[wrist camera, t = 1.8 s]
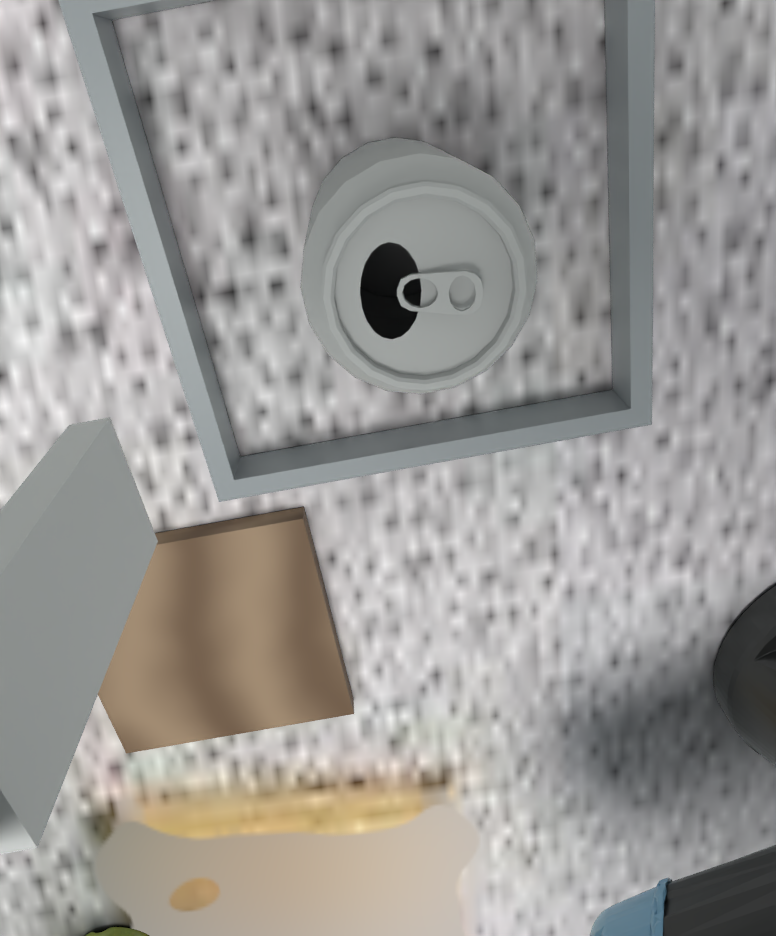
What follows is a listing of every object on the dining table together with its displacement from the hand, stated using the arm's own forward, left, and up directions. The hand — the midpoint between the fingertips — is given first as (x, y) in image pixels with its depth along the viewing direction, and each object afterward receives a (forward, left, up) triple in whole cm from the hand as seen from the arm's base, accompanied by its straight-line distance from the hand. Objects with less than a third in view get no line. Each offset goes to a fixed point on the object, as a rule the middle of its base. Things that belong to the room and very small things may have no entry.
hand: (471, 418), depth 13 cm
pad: (+14, +20, -21) cm, 32 cm away
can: (0, 0, -21) cm, 21 cm away
